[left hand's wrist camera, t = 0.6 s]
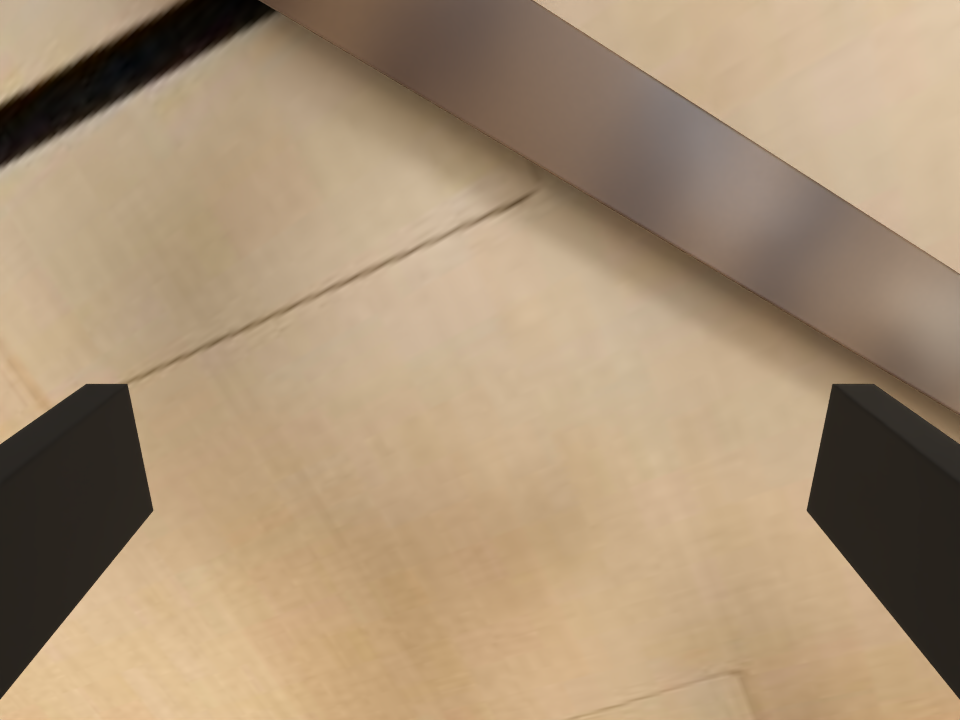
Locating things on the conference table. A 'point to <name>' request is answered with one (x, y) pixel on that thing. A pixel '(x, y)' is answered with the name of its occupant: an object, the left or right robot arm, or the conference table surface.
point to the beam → (664, 170)
